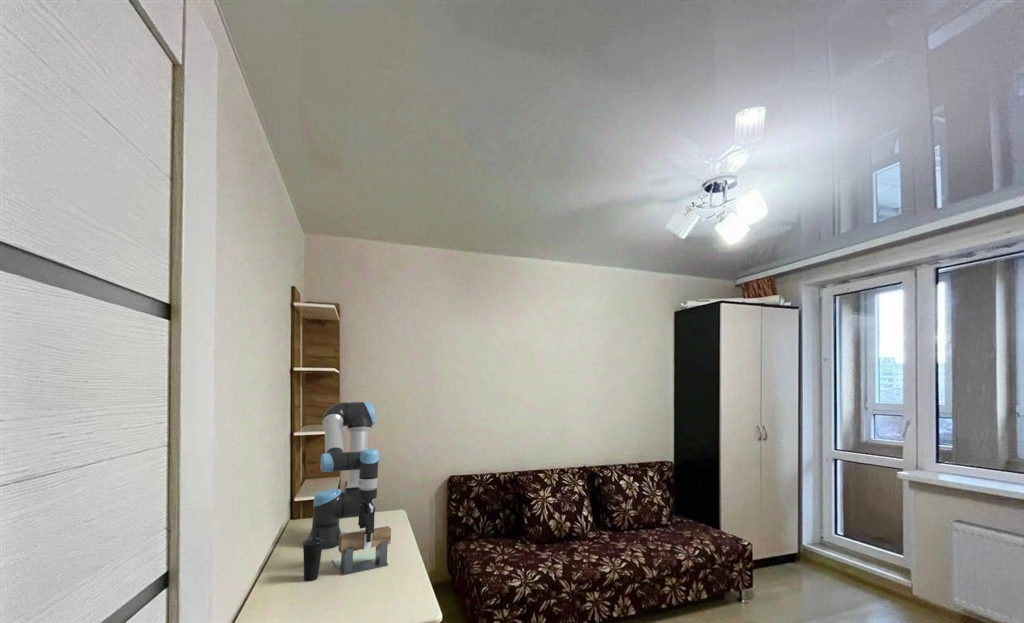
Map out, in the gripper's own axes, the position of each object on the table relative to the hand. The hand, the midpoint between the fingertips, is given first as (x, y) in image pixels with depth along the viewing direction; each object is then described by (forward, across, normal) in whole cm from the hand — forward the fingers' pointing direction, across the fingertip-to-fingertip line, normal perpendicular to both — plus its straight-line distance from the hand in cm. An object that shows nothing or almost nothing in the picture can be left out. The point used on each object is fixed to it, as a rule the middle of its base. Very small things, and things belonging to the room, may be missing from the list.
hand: (364, 547), depth 194 cm
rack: (+8, 0, 0) cm, 8 cm away
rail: (0, 0, 0) cm, 0 cm away
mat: (+8, -10, 0) cm, 13 cm away
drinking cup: (+8, 0, -20) cm, 22 cm away
